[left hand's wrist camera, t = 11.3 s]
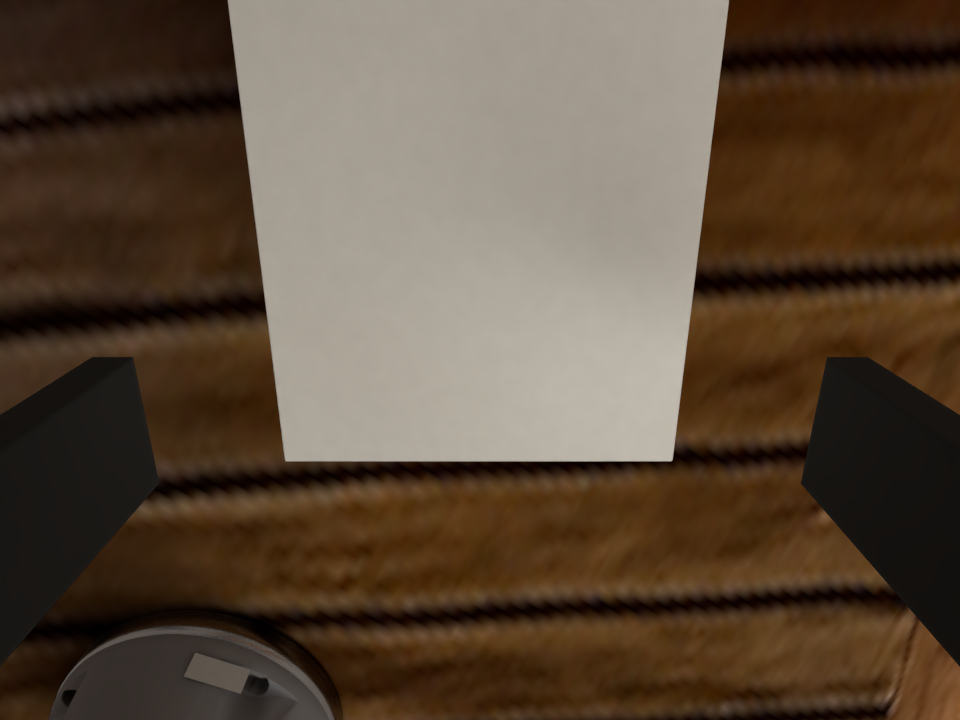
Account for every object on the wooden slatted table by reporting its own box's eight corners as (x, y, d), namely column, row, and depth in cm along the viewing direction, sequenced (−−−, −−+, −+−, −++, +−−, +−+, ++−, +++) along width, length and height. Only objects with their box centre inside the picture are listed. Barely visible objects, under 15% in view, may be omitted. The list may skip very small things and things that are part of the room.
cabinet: (306, -250, 21) (155, -567, 11) (650, -250, 21) (799, -567, 11) (351, 341, 28) (284, 461, 19) (606, 341, 28) (672, 461, 19)
